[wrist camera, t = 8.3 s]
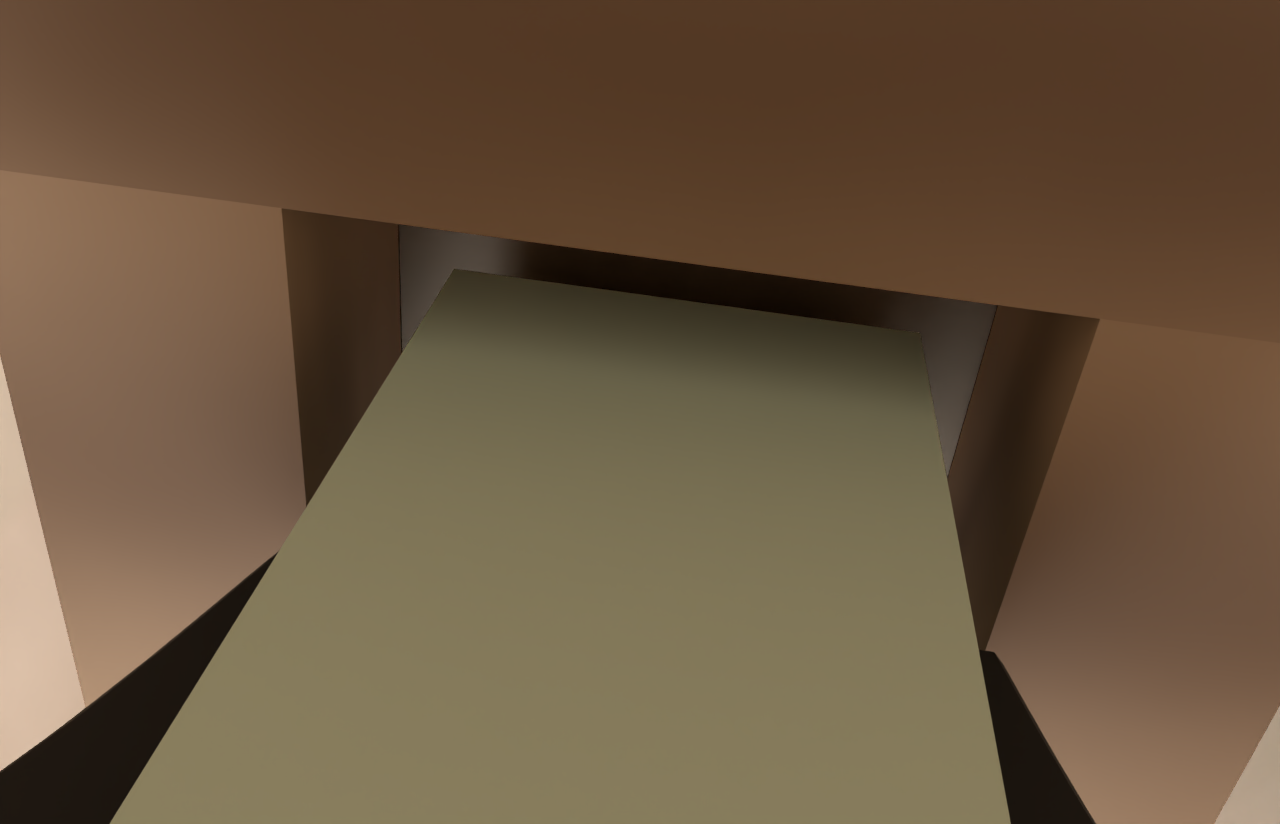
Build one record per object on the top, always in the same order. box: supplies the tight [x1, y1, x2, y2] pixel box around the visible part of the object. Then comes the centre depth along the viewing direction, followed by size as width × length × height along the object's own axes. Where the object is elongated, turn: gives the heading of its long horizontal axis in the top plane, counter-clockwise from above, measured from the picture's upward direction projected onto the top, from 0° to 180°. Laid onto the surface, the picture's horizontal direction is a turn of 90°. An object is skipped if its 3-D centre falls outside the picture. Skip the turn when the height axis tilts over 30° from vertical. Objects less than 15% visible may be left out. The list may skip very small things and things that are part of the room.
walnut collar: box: [0, 0, 1280, 824], centre depth 12 cm, size 12×12×3 cm
